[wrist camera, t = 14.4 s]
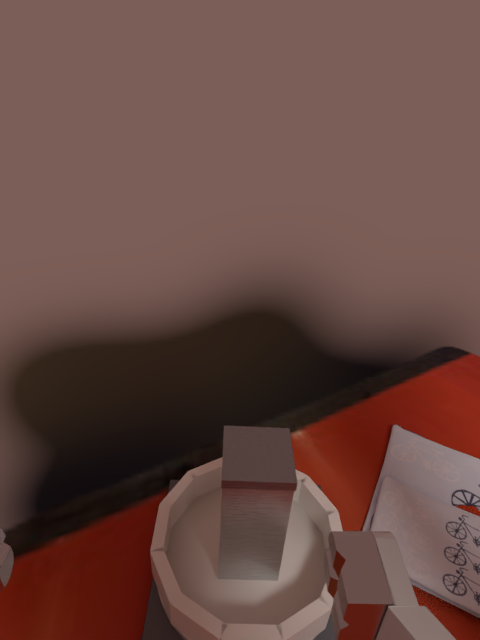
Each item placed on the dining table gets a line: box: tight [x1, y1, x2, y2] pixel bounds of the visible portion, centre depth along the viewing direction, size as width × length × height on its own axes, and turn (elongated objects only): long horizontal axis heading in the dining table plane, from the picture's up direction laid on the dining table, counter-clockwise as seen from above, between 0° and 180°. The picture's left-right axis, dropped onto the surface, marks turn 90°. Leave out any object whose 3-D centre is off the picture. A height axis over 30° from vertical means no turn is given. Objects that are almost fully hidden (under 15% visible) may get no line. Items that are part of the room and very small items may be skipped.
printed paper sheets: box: [362, 425, 480, 618], centre depth 42 cm, size 19×20×2 cm
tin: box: [218, 426, 297, 581], centre depth 33 cm, size 5×5×12 cm
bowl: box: [150, 457, 343, 640], centre depth 36 cm, size 16×16×4 cm
